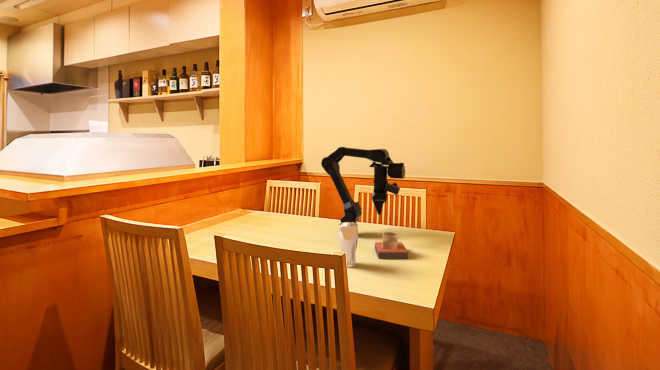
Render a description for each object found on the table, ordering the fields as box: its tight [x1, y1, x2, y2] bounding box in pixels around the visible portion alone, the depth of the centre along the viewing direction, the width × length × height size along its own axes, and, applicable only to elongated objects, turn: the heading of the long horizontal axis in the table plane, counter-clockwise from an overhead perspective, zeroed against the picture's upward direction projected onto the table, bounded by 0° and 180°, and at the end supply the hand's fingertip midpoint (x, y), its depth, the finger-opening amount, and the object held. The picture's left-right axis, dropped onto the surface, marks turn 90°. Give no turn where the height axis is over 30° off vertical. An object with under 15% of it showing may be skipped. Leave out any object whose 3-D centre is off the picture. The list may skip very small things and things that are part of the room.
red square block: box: [374, 241, 409, 260], centre depth 130 cm, size 11×11×4 cm
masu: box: [381, 231, 399, 249], centre depth 130 cm, size 6×6×5 cm
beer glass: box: [338, 222, 359, 268], centre depth 118 cm, size 7×7×15 cm
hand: (379, 212), depth 147 cm, fingers open, 9 cm apart
